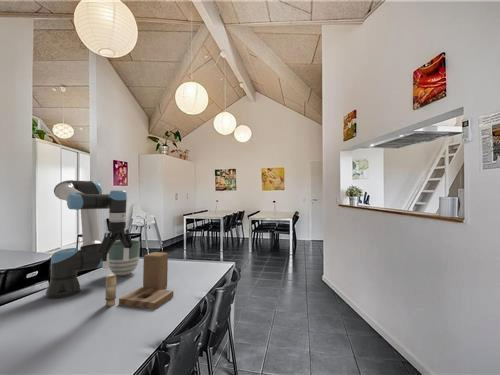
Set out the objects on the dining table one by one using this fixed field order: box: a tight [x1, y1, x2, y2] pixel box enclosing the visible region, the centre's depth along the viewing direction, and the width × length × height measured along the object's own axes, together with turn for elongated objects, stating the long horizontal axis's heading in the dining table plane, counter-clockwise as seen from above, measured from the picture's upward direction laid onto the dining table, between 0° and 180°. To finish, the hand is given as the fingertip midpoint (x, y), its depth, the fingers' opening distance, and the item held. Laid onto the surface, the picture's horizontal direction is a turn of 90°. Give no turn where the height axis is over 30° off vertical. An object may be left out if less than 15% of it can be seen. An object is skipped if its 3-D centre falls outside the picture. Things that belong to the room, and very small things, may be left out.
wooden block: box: [142, 251, 169, 290], centre depth 144 cm, size 10×10×20 cm
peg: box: [105, 273, 117, 307], centre depth 123 cm, size 5×5×14 cm
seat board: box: [118, 286, 174, 310], centre depth 128 cm, size 20×16×3 cm
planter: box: [108, 239, 141, 277], centre depth 172 cm, size 20×20×21 cm
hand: (116, 264), depth 125 cm, fingers open, 13 cm apart
